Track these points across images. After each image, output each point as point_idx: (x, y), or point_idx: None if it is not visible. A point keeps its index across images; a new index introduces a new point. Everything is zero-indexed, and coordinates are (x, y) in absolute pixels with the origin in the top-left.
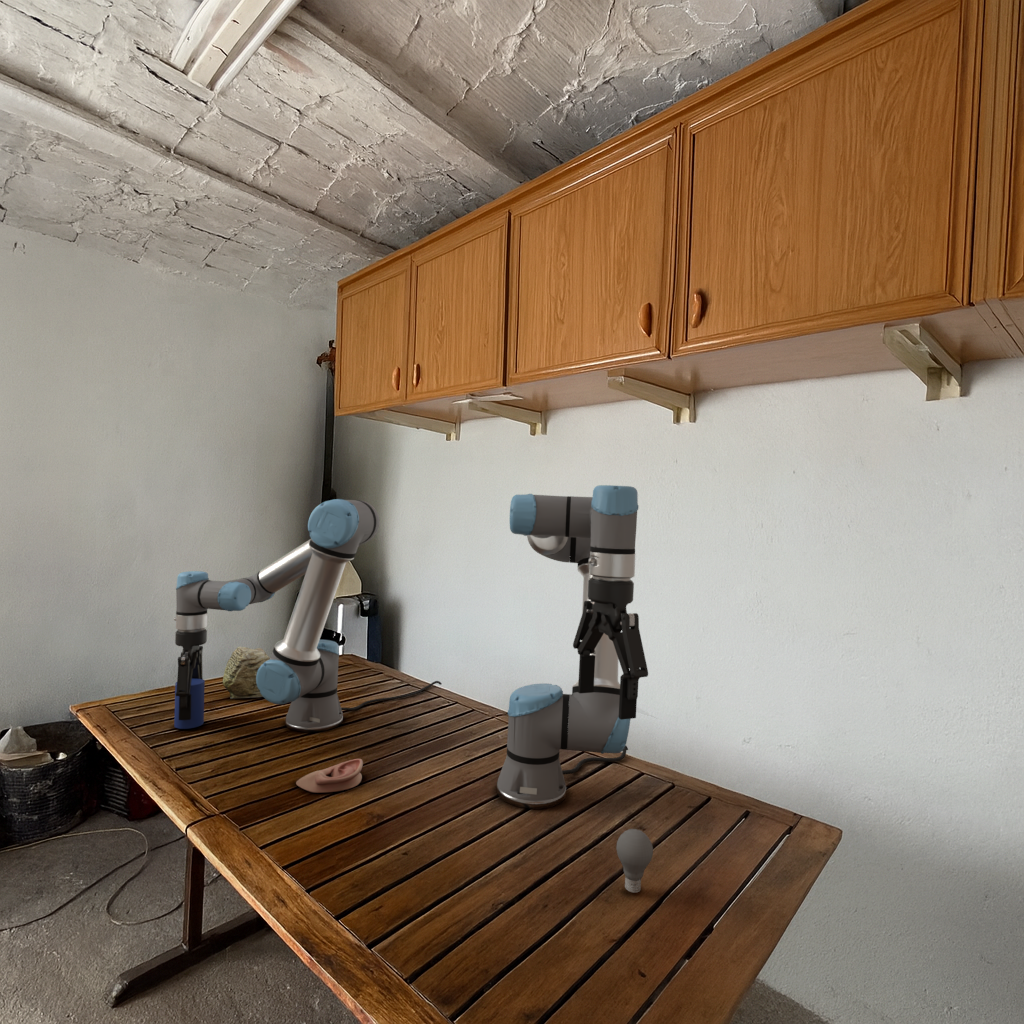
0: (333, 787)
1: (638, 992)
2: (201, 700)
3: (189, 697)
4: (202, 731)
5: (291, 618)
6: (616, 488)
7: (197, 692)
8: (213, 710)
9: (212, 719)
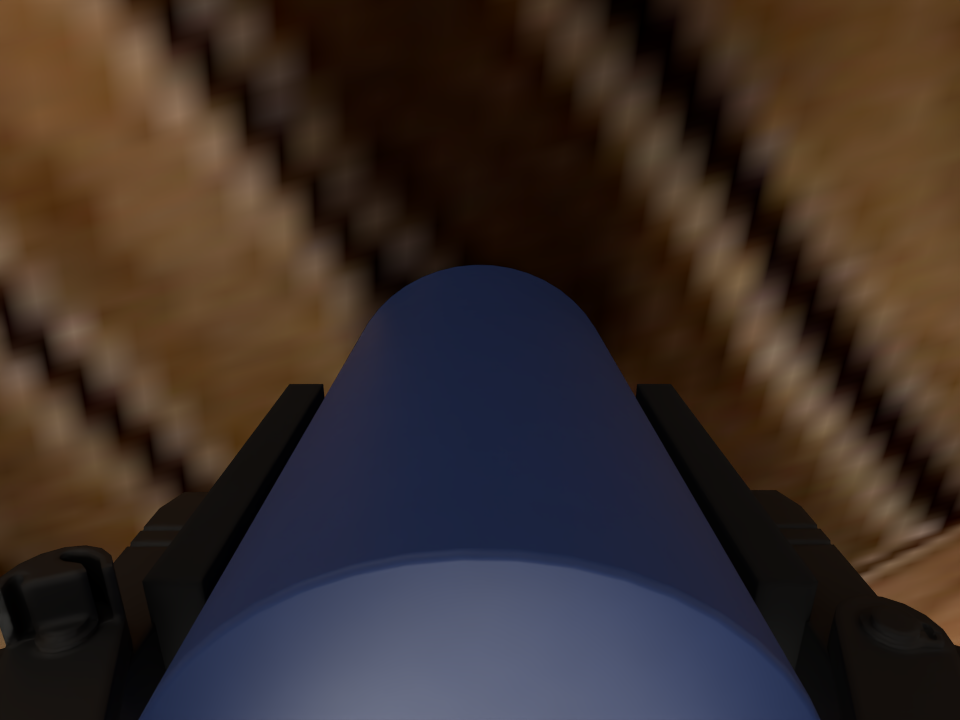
0: None
1: None
2: (560, 369)
3: (789, 564)
4: (647, 221)
5: None
6: None
7: (689, 504)
8: (6, 280)
9: (290, 215)
